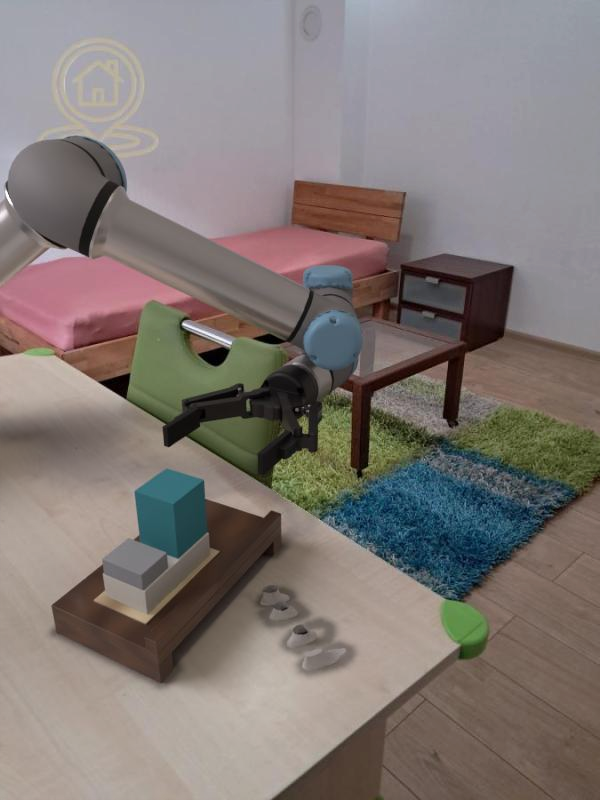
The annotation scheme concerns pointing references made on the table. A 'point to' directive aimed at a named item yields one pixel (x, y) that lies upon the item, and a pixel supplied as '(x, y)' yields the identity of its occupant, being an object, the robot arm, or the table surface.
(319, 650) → the baby socks
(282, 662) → the table surface
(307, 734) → the table surface
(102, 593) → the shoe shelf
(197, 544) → the stacked toy blocks
